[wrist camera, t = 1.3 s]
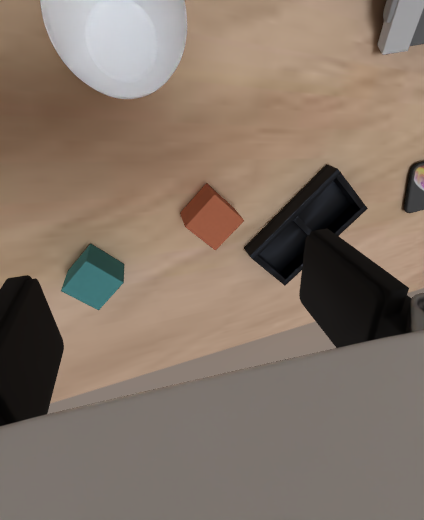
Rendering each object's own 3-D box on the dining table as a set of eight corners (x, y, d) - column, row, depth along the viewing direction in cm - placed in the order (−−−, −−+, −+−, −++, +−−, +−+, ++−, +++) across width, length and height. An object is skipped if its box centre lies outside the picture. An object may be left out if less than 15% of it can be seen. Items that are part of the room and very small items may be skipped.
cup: (141, 114, 33) (145, 128, 22) (54, 53, 28) (11, 36, 18) (187, 30, 30) (216, 2, 20) (99, -50, 26) (78, -137, 16)
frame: (243, 247, 43) (249, 256, 41) (326, 164, 40) (337, 168, 38) (277, 276, 47) (285, 285, 45) (356, 202, 44) (367, 208, 42)
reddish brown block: (179, 213, 39) (185, 226, 35) (206, 183, 38) (214, 194, 34) (207, 235, 41) (215, 250, 37) (233, 207, 40) (244, 220, 36)
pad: (67, 271, 39) (60, 291, 35) (90, 243, 38) (86, 260, 34) (101, 289, 42) (98, 310, 38) (124, 264, 41) (123, 282, 37)
